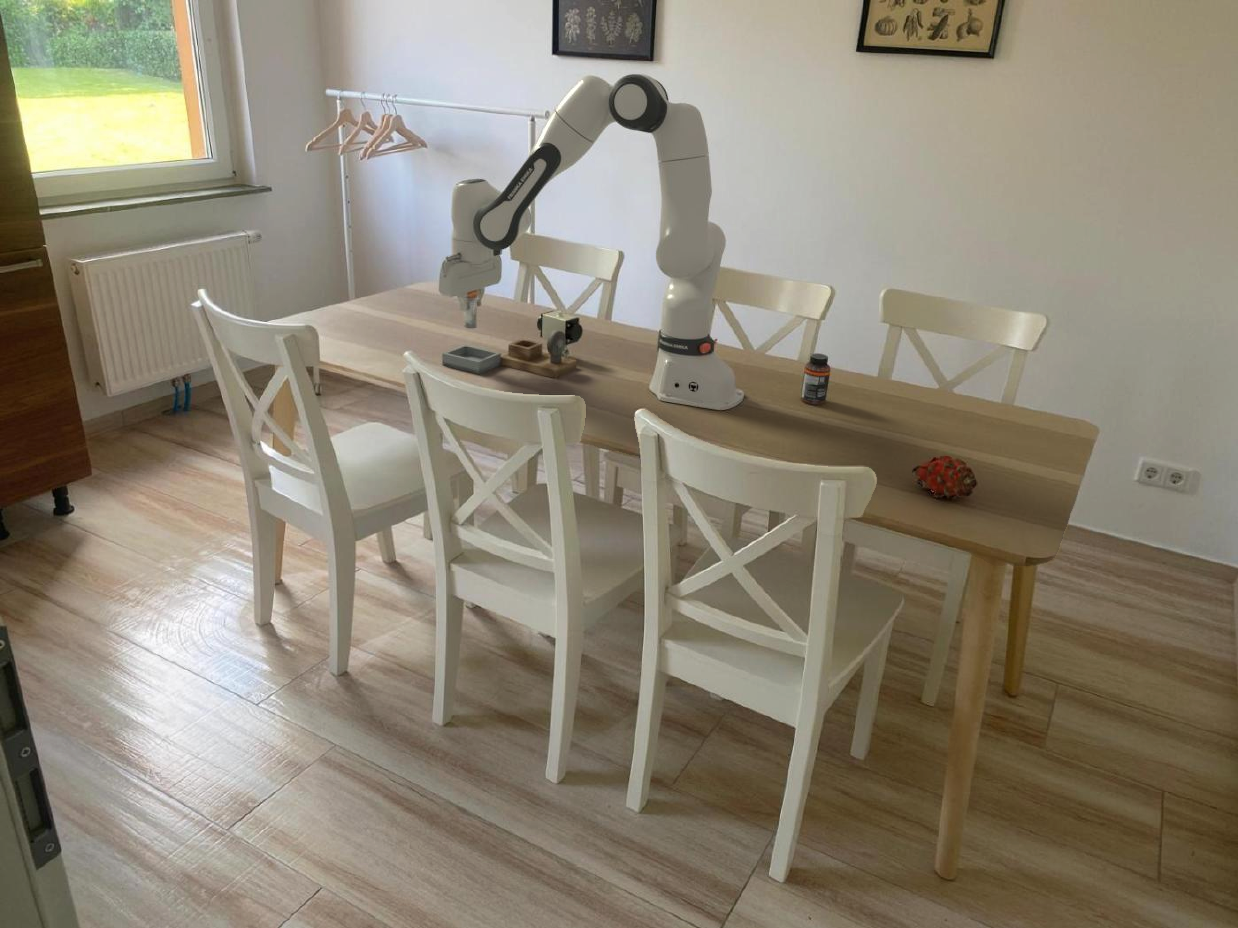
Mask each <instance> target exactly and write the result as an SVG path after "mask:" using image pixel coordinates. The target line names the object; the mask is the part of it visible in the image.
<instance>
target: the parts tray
mask: <svg viewBox="0 0 1238 928" xmlns="http://www.w3.org/2000/svg"><path fill="white" fill-rule="evenodd" d="M441 354H442V355H441V356H442V359H441V361H442V362H441V363H442V365H443V366H446V367H449V368H454V369H457V370H461V371H466V372H468V373H469V372H470V373H474V374H477V375H480V374H483V373H484V372H487V371H490V370H492V369H494V368H497V367H498V366H502V365H501V357H502V355H501V354H502V353H501V352H497V351H492V350H489V349H484V348H481V347H476V346H472V345H467V344H463V345H460V346H458V347H456V348H452V349H451V350H447V351H445V352H442V353H441Z"/></svg>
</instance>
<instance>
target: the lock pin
mask: <svg viewBox="0 0 1238 928" xmlns="http://www.w3.org/2000/svg"><path fill="white" fill-rule="evenodd" d="M466 300H467V302H468V303H470V306H469V307H470V309H469V310H467V311H463V328H465V329H476V328H478V307H477V290H475V291H471V292H468V293H467V297H466Z"/></svg>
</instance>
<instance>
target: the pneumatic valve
mask: <svg viewBox="0 0 1238 928" xmlns="http://www.w3.org/2000/svg"><path fill="white" fill-rule="evenodd" d="M538 317H539V318H538V320H537V321H536V327H537V329H538V331H539V334H540V336H539V337H540V338H542V339H544V340H545V339H546V340H548V338H549V336H550V334H551V332H553V331H554V330H557V331H561V332H563V333H564V334H565V337H566V343H565V347H564V350H563V352H562V357H566V358H569V355H570V349H569V345H570V344H571V345H572V344H575V343H578V342H579V340H580V339H581V338H582V336H583V326H582V325H581V324H580V323H581V322H580V318H579V316H578V317H577V316H573V315H572V314H567V313H563V311H560V310H558V311H554V310H551V311H545V312H543V313H542V312H541V313H540V315H539V316H538Z"/></svg>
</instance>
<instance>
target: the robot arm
mask: <svg viewBox="0 0 1238 928" xmlns="http://www.w3.org/2000/svg"><path fill="white" fill-rule="evenodd" d="M612 123H617V124H618V125H619V126H621V127H622V128H624V129H628V130H631V131H639V132H643V133H646V134H651V135H652V136H653V138H654V141H655V145H656V152H657V154H656V155H657V163H658V174H659V184H660V195H661V197H660V198H661V207H660V209H661V210H660V223H659V241H658V245H657V247H656V250H655V261H656V264H657V267H658V268H659V270H660V271H661V272H662V273H663V274H664V275H665V276H667V277H668V278H669V282H668V285H667V288H666V291H665V293H664V295H663V299H662V300H663V301H662V313H661V324H660V329H659V331H658V336H657V337H658V338H657V342H656V343H657V348H656V350H657V351H656V352H657V358H656V359H657V360H656V364H655V367H654V372H653V375H652V377H651V380H650V384H649V386H648V388H649V390H650V392H651V393H653V394H654V395H656V396H657V398H658V400H659V401H662V402H666V403H667V402H668V403H674V404H681V405H686V406H692V407H697V408H698V407H699V408H703V409H711V410H716V411H723V410H729V409H732V408H734V407H737V406H738V405H740V404H741V402H742V401H743V400H744V397H745V394H744V391H743V390H742V389H739V388H737V387H736V377H735V373H734V370H733V369H732V368H731V367H730V366H729V365H728V364H727V363H726V362H725V361H724V360H723V359H722V358H721V357H720V356H719V355H718V354H717V353H716V351H715V345H716V344H718V338H715V339H713V338H712V337H711V335H710V334H709V328H710V321H711V320H710V319H711V310H712V309H711V308H712V303H713V298H714V297H713V296H714V293H715V289H716V285H717V280H718V277H719V274H720V273H719V272H720V268H721V262H722V258H723V255H724V252H725V248H726V245H727V243H726V241H727V240H726V235H725V233H724V231H723V229H722V228H721V227H720V226H719V225H718V224H716V223H715V222H713V221H709V213H710V204H711V199H712V194H713V190H712V189H713V188H712V187H713V185H712V176H711V167H710V165H711V164H710V154H709V145H708V144H709V143H708V137H707V134H706V129H705V125H704V120H703V117H702V114H701V112H700V110H699V109H698V108H697V107H696V106H694V105H692V104H689V103H687V102H677V103H674V102H670V101H669V95H668V93H667V90H666V88H665V87H664V85H663V84H662V83H661V82H660V81H658V80H657V79H654V78H653V77H651V76H649V75H647V74H641V73H633V74H632V73H631V74H628V75H624V76H622V77H621V78H619V79H618V80H617V81H616V82H615V83H614V84H613V85H612V84H610V83H608V82H607V81H606V80H605V79H604V78H601V77H599V76H597V75H591V74H590V75H586V76H583V77H582V78H581V79H579V80H578V82H576V83H575V84H574V86H572V87H571V88H570V90H569V91H567V93H566V94H565V95H564V96H563V97H562V99H561V100H560V101H559V102H558V104H557V105H556V107H555V108H554V109H553V110H552V111H551V114H550V115H549V117H548V118H547V120H546V122H545V124H544V126H543V127H542V129H541V131H540V133H539V134H538V137H537V139H536V140H535V143H534V145H533V146H532V149H531V150H530V152H529V154H528V156H527V158H526V160H525V162H523V164H522V165H521V167H520V168H519V170H518V171H517V172H516V174H515V175H514V176H513V178H512V179H511V180H510V181H509V183H508V184H507V186H506V187H505V188H504V190H503V191H502V190H499V189H497V188H496V187H494V186H493V185H491V184H490V183H489V181H488V180H486V179H485V178H472V179H471V178H470V179H466V180H461V181H460V182H458V183H456V184H455V186H454V187H453V190H452V196H451V211H450V213H451V215H450V218H451V221H452V232H451V255H447V256H446V257H445V259H444V260H443V261H442V263H441V266H440V268H439V269H440V270H439V278H438V292H439V294H440V295H441V296H442V297H448V298H453V297H456V298H457V300H458V302H459V309H460V311H463V312H464V311H467V310H469V309H470V307H469V306H470V303H468V302H467V300H466V297H467V293H468V292H471V291H475V290H477V308H478V307H482V299H483V296H484V294H485V289H486V288H489V287H491V286H494V285H498V284H500V282H501V279H502V271H503V269H502V267H503V265H502V263H503V262H502V257H501V255H502V254H503V250H505V249H507V248H509V247H511V246H512V245H513V243H514V242H515V241H516V240H518V239H519V238H520V237H521V236H522V235H524V234H525V233H526V232H527V231H528V229H529V228H530V226H531V222H532V221H531V220H532V215H531V211H530V208H529V207H530V206H531V205H532V204H533V202H534V201H535V199H536V198H537V197H538V195H539V194H540V192H541V191H543V189H544V187H545V186H546V185H547V184H549V182H551V180H553V179H554V178H555V177H557V176H558V175H560V174H562V173H563V172H564V171H567V170H568V169H569V168H572V166H574V165H575V164H577V163H578V161H580V160H581V159H582V157H584V156H585V155H586V153H588V151H589V150H590V149H591V148H592V146H593V145H594V144H595V143H596V141H597V140H598V138H599V137H600V136H601V135H602V133H603V132H604V130H605V129H606V128H607V127H608V126H609V125H611V124H612Z"/></svg>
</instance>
